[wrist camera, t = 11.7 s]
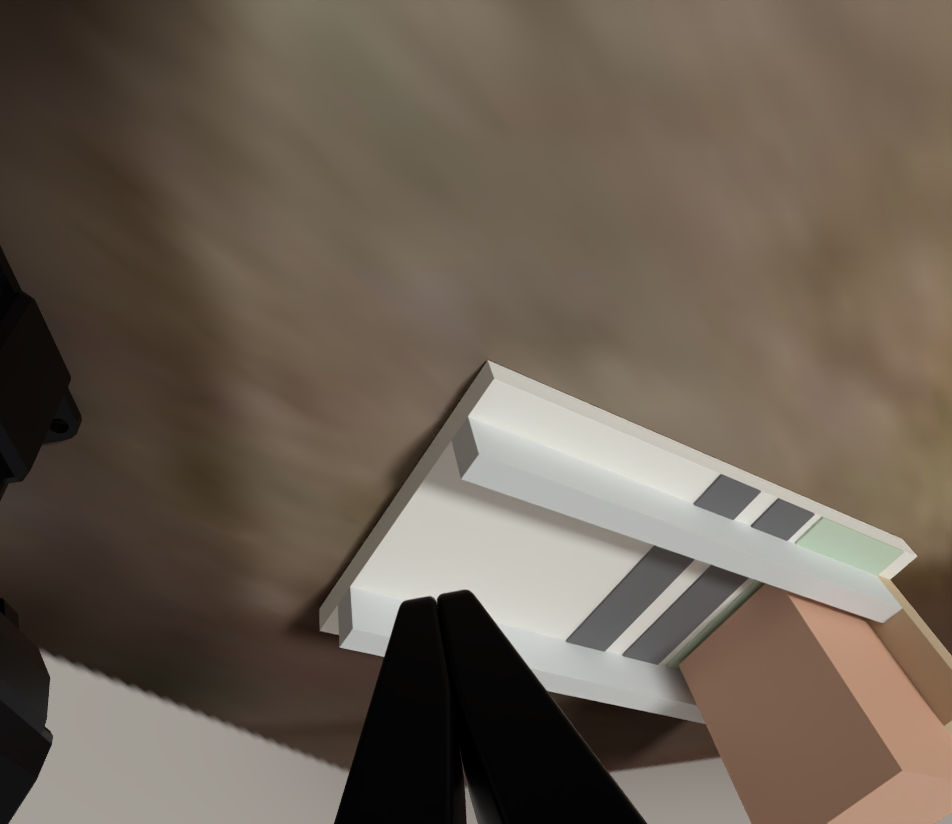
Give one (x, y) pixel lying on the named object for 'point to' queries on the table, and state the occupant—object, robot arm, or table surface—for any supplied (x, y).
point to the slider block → (818, 717)
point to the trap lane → (612, 550)
